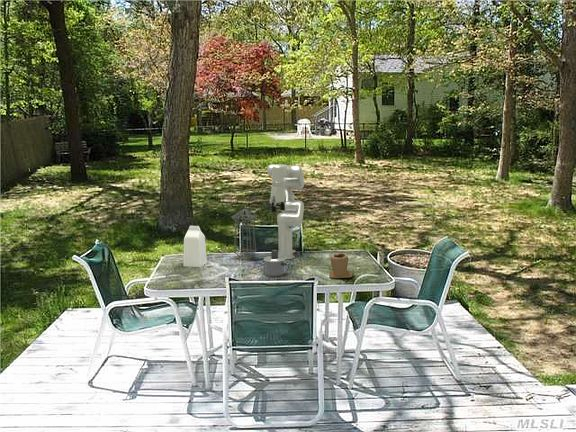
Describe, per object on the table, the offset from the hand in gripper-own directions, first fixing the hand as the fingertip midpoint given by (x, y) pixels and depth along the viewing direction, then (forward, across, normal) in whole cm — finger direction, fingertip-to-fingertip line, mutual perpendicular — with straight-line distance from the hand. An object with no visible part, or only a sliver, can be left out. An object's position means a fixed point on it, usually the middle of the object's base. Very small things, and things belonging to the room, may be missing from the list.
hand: (278, 211), depth 358 cm
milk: (+36, +28, -48) cm, 66 cm away
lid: (+28, +18, +10) cm, 35 cm away
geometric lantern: (+36, -5, -32) cm, 49 cm away
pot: (+36, +18, +10) cm, 42 cm away
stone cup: (+36, +3, +49) cm, 61 cm away
